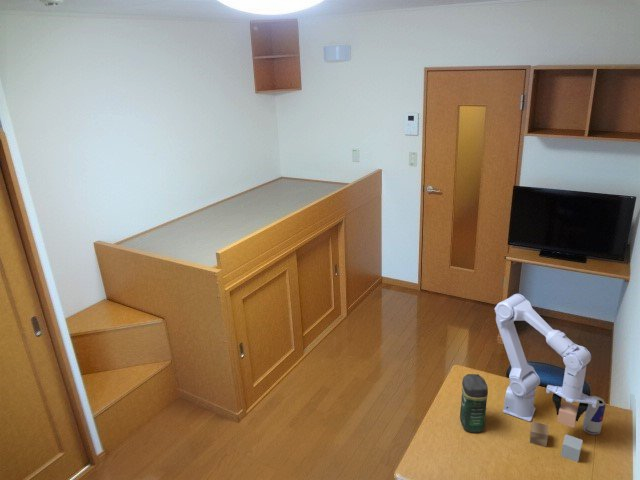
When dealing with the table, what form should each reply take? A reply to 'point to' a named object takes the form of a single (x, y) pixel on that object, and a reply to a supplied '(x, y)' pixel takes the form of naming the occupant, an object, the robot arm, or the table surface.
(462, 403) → the coffee jar
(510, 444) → the table surface
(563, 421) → the terracotta block
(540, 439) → the walnut block
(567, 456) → the slate block
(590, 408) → the energy drink
